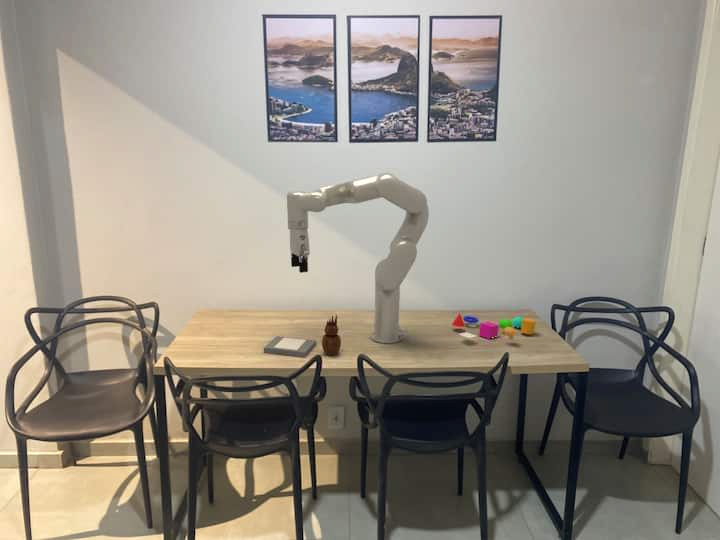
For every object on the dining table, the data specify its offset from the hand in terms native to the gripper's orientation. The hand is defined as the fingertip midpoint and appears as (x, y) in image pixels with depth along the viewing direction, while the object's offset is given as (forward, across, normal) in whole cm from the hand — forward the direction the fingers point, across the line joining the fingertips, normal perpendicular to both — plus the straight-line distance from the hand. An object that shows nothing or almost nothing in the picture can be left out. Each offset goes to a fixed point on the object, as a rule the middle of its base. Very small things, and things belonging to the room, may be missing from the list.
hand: (299, 269), depth 199 cm
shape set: (+29, -26, -72) cm, 82 cm away
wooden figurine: (+28, -20, -5) cm, 35 cm away
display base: (+28, -10, +8) cm, 30 cm away
